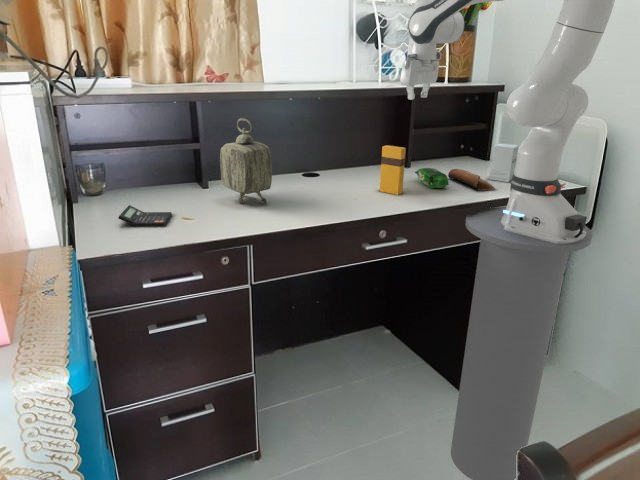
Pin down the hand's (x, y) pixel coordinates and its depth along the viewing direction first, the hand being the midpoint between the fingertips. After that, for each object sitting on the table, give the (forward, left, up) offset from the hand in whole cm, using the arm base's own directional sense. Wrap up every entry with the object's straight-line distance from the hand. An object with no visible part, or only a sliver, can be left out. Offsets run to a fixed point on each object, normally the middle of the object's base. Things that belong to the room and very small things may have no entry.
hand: (417, 98), depth 167 cm
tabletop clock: (+11, +59, -30) cm, 67 cm away
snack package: (-4, -6, -30) cm, 30 cm away
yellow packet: (-4, +13, -29) cm, 32 cm away
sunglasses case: (-11, -19, -30) cm, 37 cm away
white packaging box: (-12, -35, -30) cm, 48 cm away
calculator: (+9, +90, -30) cm, 95 cm away
